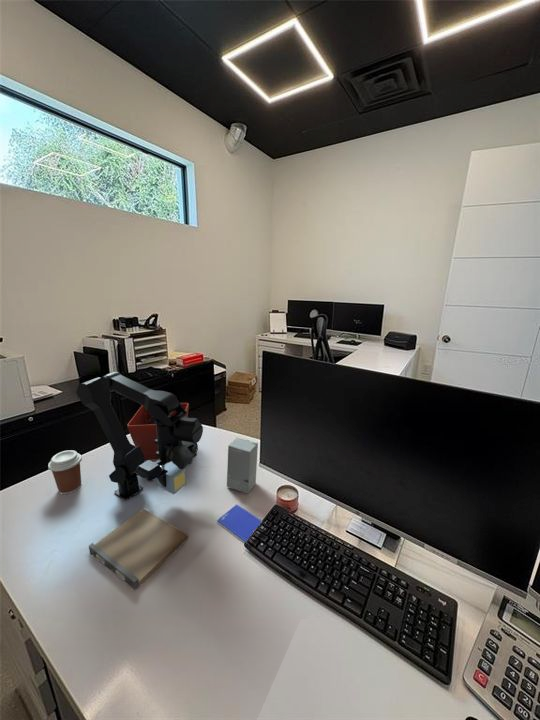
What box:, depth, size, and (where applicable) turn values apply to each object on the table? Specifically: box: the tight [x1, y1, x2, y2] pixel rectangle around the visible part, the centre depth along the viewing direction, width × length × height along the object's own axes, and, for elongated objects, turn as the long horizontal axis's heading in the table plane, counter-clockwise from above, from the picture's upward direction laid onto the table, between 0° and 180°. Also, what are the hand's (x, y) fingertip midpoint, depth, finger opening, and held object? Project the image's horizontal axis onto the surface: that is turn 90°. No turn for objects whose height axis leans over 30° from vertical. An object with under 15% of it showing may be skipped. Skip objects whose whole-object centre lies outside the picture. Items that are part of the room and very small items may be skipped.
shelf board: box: [88, 508, 189, 591], centre depth 77 cm, size 18×16×2 cm
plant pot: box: [127, 402, 190, 461], centre depth 118 cm, size 19×19×17 cm
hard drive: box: [216, 504, 262, 544], centre depth 85 cm, size 2×8×12 cm
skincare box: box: [226, 437, 259, 494], centre depth 99 cm, size 8×7×16 cm
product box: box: [156, 461, 187, 495], centre depth 90 cm, size 7×5×6 cm
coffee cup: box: [47, 449, 83, 495], centre depth 97 cm, size 9×9×12 cm
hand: (171, 481), depth 91 cm, fingers closed on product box, 5 cm apart
